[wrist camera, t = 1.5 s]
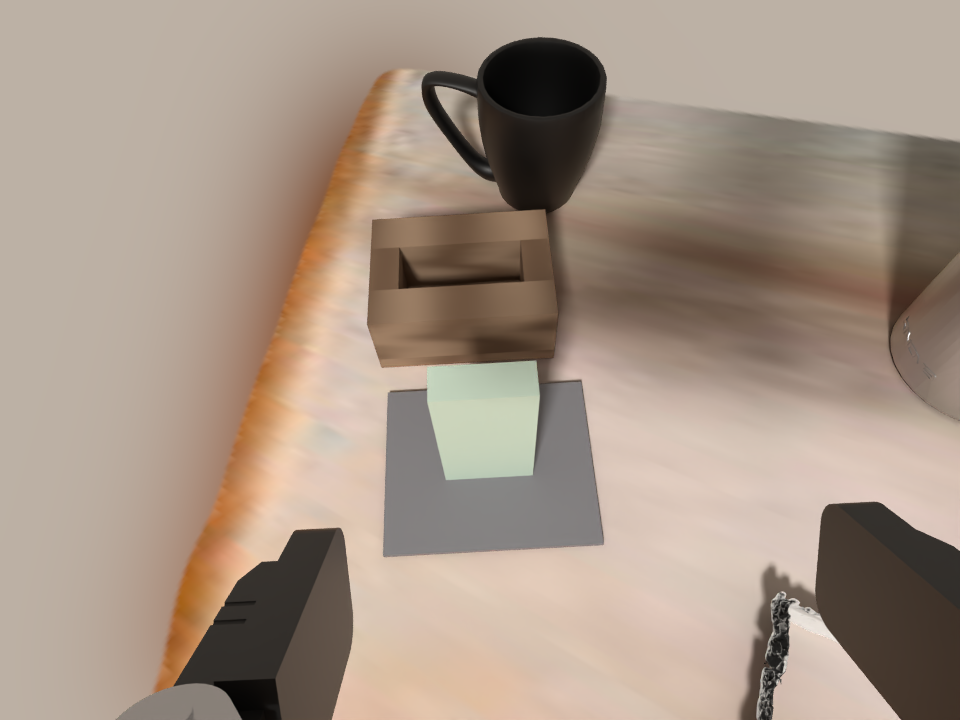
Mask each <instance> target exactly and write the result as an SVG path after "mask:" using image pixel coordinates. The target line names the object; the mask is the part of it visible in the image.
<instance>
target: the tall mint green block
mask: <svg viewBox="0 0 960 720" xmlns="http://www.w3.org/2000/svg"><path fill="white" fill-rule="evenodd" d="M539 400H540V392H539V382H538V372H537V363H536V361H520V362H503V363H486V364H468V365H451V366H434V367H427V403H428V407H429V411H430V416H431V420H432V424H433V428H434V432H435V436H436V441H437V445H438V449H439V453H440V457H441V462H442V466H443V470H444V474H445V478H446V480H458V479H475V478H493V477H511V476H529V475H533V467H534V456H535V445H536V434H537V422H538V411H539Z"/></svg>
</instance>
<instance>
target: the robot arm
mask: <svg viewBox="0 0 960 720" xmlns="http://www.w3.org/2000/svg"><path fill="white" fill-rule="evenodd" d="M891 353H892V356H893V359H894V363H895V365H896V367H897V369H898V371H899V372H900V374H901V376H902V378H903V379H904V380H905V382H906V383H907V384H908V385H909V386H910V388H911V389H912V390H913V391H914V392H915V393H916V394H917V395H918V396H919V397H921V398H922V399H923V400H924V401H925V402H926V403H928V404H929V405H931V406H932V407H934V408H935V409H937V410H939V411H940V412H942V413H943V414H946V415H948V416H950V417H952V418H954V419H957V420H959V421H960V252H959V253H958V254H957V255H956V256H955V257H954V258H953V259H952V260H951V261H950V262H949V263H948V265H947V266H946V267H945V268H944V269H943V270H942V271H941V272H940V273H939V274H938V275H937V277H936V278H935V279H934V280H933V281H932V282H931V283H930V284H929V285H928V286H927V287H926V288H925V289H924V291H923V292H922V293H921V294H920V295H919V296H918V297H917V298H916V299H915V300H914V301H913V303H912V304H911V305H910V306H909V307H908V308H907V309H906V310H905V311H904V312H903V313H902V315H901V316H900V317H899V318H898V320H897V322H896V323H895V325H894V326H893V330H892V334H891ZM815 592H816V601H817V606H818V609H819V613H820V615H821V618H822V620H823V622H824V624H825V626H826V627H827V629H828V630H829V631H830V633H831V634H832V635H833V636H834V637H835V639H836V640H837V641H838V642H839V644H840V645H841V646H842V647H843V649H844V650H845V651H846V652H847V654H848V655H849V656H850V657H851V658H852V660H853V661H854V662H855V663H856V665H857V666H858V667H859V668H860V670H861V671H862V672H863V673H864V674H865V676H866V677H867V678H868V679H869V681H870V682H871V683H872V684H873V686H874V687H875V688H876V689H877V690H878V692H879V693H880V694H881V695H882V697H883V698H884V699H885V700H886V702H887V703H888V704H889V705H890V706H891V708H892V709H893V710H894V711H895V713H896V714H897V715H898V716H899V718H900V719H901V720H960V551H959V550H958V549H956V548H955V547H954V546H952V545H949V544H947V543H945V542H943V541H941V540H938V539H936V538H934V537H932V536H929V535H927V534H925V533H923V532H921V531H918V530H916V529H914V528H913V527H912V526H911V525H909V524H908V523H907V522H905V521H904V520H903V519H901V518H900V517H899V516H897V515H896V514H895V513H893V512H892V511H891V510H889V509H888V508H887V507H886V506H884V505H883V504H881V503H879V502H860V503H840V504H829V505H828V506H826V507H825V509H824V511H823V513H822V517H821V526H820V538H819V550H818V562H817V574H816V587H815ZM352 635H353V610H352V601H351V592H350V583H349V574H348V565H347V557H346V548H345V540H344V535H343V532H342V530H341V528H325V529H306V530H295V531H294V532H293V534H292V535H291V537H290V539H289V541H288V543H287V545H286V547H285V549H284V550H283V552H282V554H281V556H280V558H279V560H278V561H270V562H261V563H260V564H259V565H257V566H256V567H255V568H253V569H252V570H251V571H250V572H248V573H247V574H246V575H245V576H243V577H242V578H241V579H240V580H238V581H237V583H236V585H235V586H234V588H233V590H232V591H231V593H230V595H229V596H228V598H227V599H226V601H225V606H224V607H222V608H221V609H220V611H219V612H218V614H217V616H216V617H215V619H214V624H213V625H211V626H210V627H209V629H208V630H207V632H206V634H205V635H204V637H203V639H202V640H201V642H200V644H199V645H198V647H197V648H196V650H195V652H194V653H193V655H192V657H191V658H190V660H189V662H188V663H187V665H186V666H185V668H184V670H183V671H182V673H181V675H180V676H179V678H178V680H177V681H176V683H175V684H174V686H173V687H171V688H167V689H164V690H161V691H159V692H156V693H154V694H152V695H150V696H148V697H146V698H144V699H142V700H141V701H139V702H137V703H136V704H134V705H133V706H132V707H130V708H129V709H127V710H126V711H125V712H123V713H122V714H121V715H120V716H119V717H118V718H117V719H116V720H332V716H333V713H334V709H335V705H336V702H337V698H338V694H339V691H340V687H341V683H342V679H343V676H344V672H345V668H346V665H347V661H348V657H349V654H350V650H351V644H352Z"/></svg>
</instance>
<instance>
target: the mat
mask: <svg viewBox="0 0 960 720" xmlns="http://www.w3.org/2000/svg"><path fill="white" fill-rule="evenodd" d="M539 392H540V400H539V411H538V422H537V434H536V445H535V456H534V467H533V475H529V476H511V477H493V478H475V479H458V480H446V478H445V474H444V470H443V466H442V462H441V457H440V453H439V449H438V445H437V441H436V436H435V432H434V428H433V424H432V420H431V416H430V411H429V407H428V403H427V390H426V391H409V392H391V393H388V408H387V442H386V476H385V510H384V544H383V556H384V557H393V556H412V555H430V554H448V553H466V552H484V551H502V550H520V549H539V548H557V547H575V546H593V545H603V544H604V542H603V535H602V527H601V520H600V513H599V506H598V499H597V492H596V485H595V477H594V470H593V463H592V456H591V449H590V442H589V435H588V427H587V420H586V413H585V406H584V399H583V392H582V384H581V382H565V383H548V384H539Z"/></svg>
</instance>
